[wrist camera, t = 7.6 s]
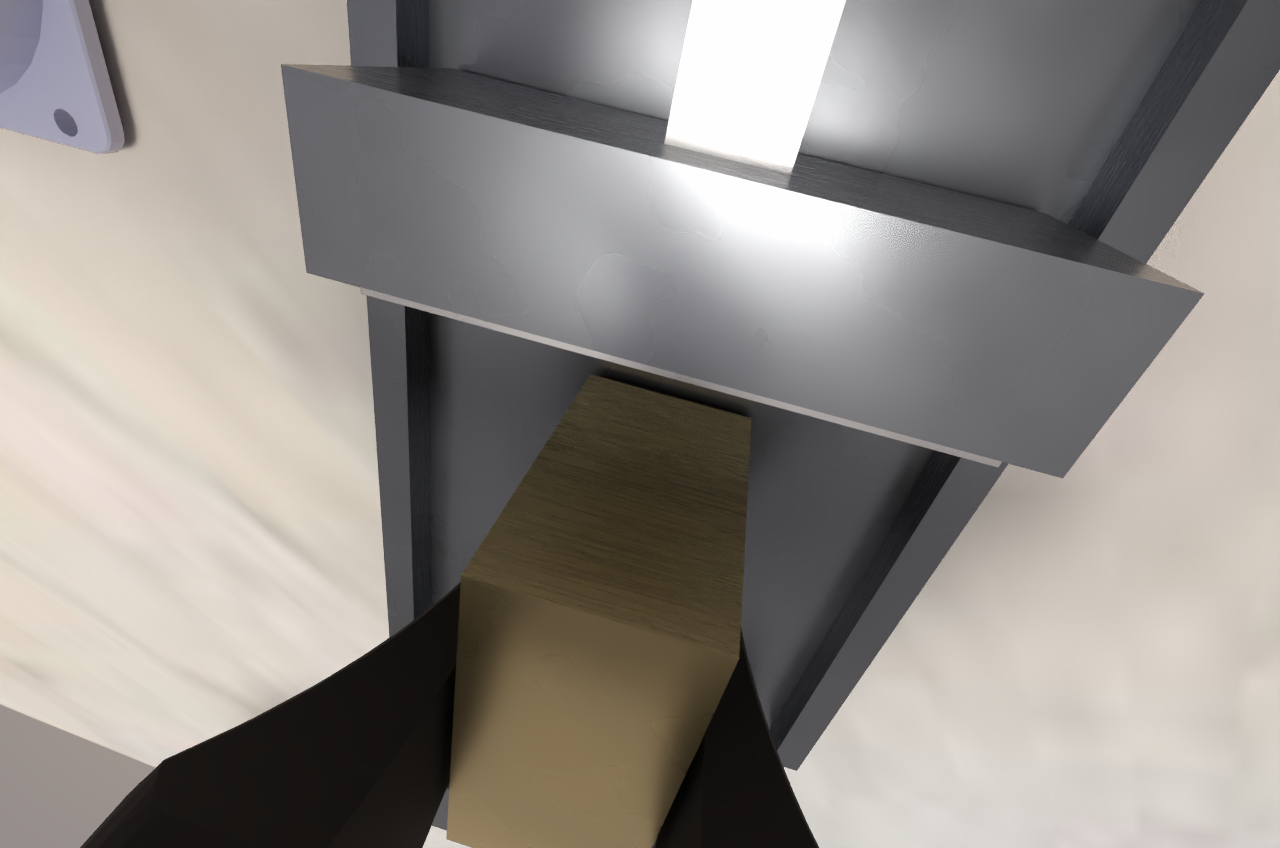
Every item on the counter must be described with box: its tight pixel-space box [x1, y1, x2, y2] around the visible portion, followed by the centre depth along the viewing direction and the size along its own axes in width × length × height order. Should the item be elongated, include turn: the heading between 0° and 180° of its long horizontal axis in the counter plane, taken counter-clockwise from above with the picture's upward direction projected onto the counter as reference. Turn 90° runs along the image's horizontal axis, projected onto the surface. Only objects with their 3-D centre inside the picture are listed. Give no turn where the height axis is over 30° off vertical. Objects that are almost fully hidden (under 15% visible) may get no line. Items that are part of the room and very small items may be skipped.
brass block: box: [447, 374, 751, 848], centre depth 11 cm, size 4×7×6 cm, turn 169°
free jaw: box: [281, 0, 1204, 478], centre depth 7 cm, size 10×8×4 cm
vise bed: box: [347, 0, 1280, 848], centre depth 12 cm, size 13×21×5 cm, turn 169°
